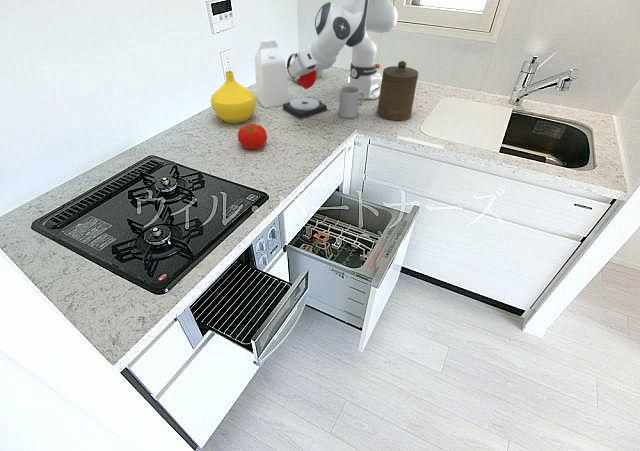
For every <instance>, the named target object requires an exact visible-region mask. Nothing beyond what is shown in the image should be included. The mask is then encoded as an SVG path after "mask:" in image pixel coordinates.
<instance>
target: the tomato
mask: <svg viewBox="0 0 640 451" xmlns="http://www.w3.org/2000/svg"><path fill="white" fill-rule="evenodd" d="M237 140H238V143H239V144H240V145H241V147H243V148H244V149H247V150H257V149H260V148H262V147H264V145H265V144H266V142H267V140H268V134H267V131H266V129H265V127H263V126H262V125H261V124H257V123H252V122H251V123H247V124H245V126H240V128H239V129H238V132H237Z"/></svg>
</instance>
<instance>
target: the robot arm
mask: <svg viewBox="0 0 640 451" xmlns="http://www.w3.org/2000/svg"><path fill="white" fill-rule="evenodd" d="M397 23H398V11H397V8H396V7H395V6H394V5H393V3H392V2H391V0H347V1H345V2H344V3H343V4H342V6H340V5H338V4H336V3H333V2H331V1H328V2H325V3H324V4H322V6H321V7H319V10H318V11H317V13H316V16H315V19H314V28H315V32H316V35H317V39H316V40H314V42H313V43H311V44H310V45H309V46H307V47H305V48H304V49H300V50H299V51H298V52H296V53H297V55H298V57H296V58H295V57H294V59H293V60H292V61H291V62H290V66H289V68H288V70H289V73H290V75H291V76H292V77H293V78H294V77H295V78H297V79H300V78H301V77H302V75H305V74H308V73H310V72H311V71H314V70H316V72H318V71H320V70H322V71H323V70H327V69H329V68H331V67H332V66H334V64H335V63H336V61H337V57H338V55H339V54H340V52H341V51H342V49H343V48H344V47H345V46H347V47H349V48H351V49H352V50H351V62H350V68H349V72H350V73H349V76H348V82H347V86H354V87H357V88H359V89H360V91H363V92H364V100H373V101H374V100H376V99H379V96H380V89H381V83H382V77H383V75H381V74H380V73H379V72H378V70H380V69H381V68H382V65H381V63H376V61H377V60H376V59H377V52H378V48H377V44H376V43H375V42H374V40H373V39H371V38H370V36H369V34H368V32H371V33H378V34H382V33H390V32H391V31H393V29H394V28H395V27H396V24H397ZM288 70H287V71H288ZM289 73H288V74H289ZM290 75H289V76H290ZM291 76H290V77H291ZM359 100H361V94H360V95H359Z"/></svg>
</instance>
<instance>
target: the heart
mask: <svg viewBox="0 0 640 451" xmlns="http://www.w3.org/2000/svg"><path fill="white" fill-rule="evenodd" d="M297 80H298V81H299V83H298V84H300V85H301V87H302V88H303V89H304V90H308V89H310V88H312V87H313V86H314V85H315V82H316V81H317V79H316V70H314V71H311V72H310V73H308V74H305V75H302V77H301V78H300V79H297Z"/></svg>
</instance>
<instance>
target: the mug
mask: <svg viewBox="0 0 640 451" xmlns="http://www.w3.org/2000/svg"><path fill="white" fill-rule="evenodd" d="M360 94H361V99H359V95H360ZM364 101H365V99H364V92H363V91H360V89H359V88H357V87H354V86H348V85H345V86H341V87H340V88H339V102H338V115H339V117H341V118H345V119H354V118H356V117H358V114H359V107H361V106H363V104H364Z"/></svg>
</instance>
